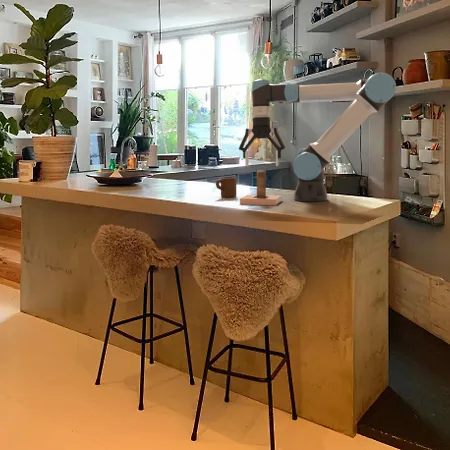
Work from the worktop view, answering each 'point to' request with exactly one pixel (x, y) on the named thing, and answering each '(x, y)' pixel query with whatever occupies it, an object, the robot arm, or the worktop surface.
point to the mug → (227, 187)
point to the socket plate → (261, 200)
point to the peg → (261, 184)
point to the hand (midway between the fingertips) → (262, 166)
